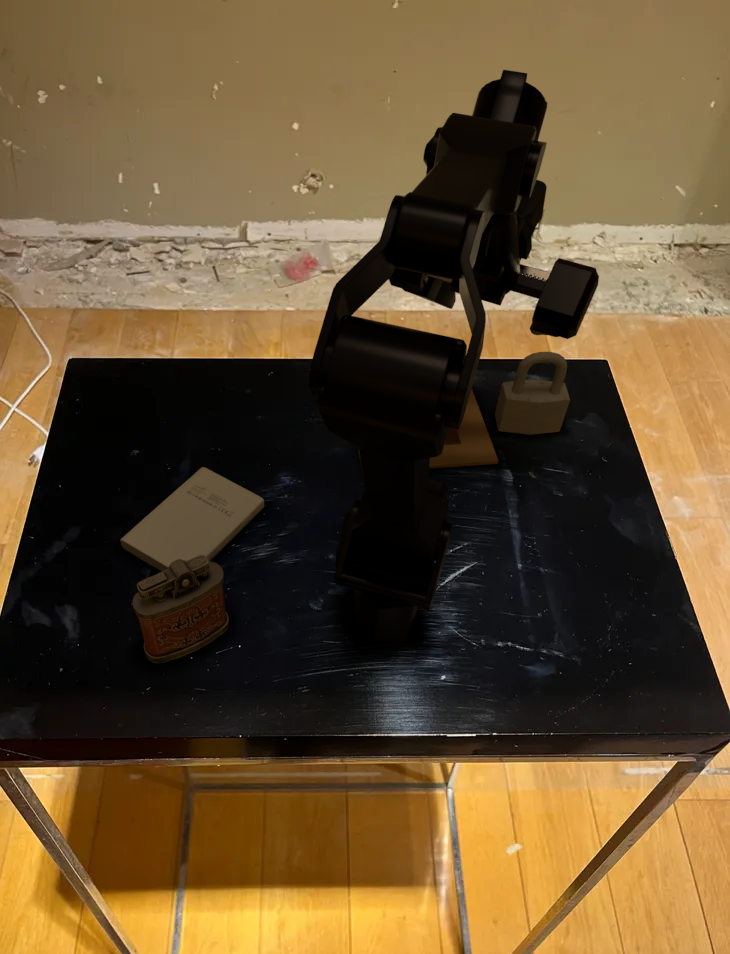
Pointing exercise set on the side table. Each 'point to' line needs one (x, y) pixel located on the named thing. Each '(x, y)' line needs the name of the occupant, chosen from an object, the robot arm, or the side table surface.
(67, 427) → the side table surface
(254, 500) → the hard drive
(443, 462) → the board
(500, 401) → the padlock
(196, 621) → the lighter
